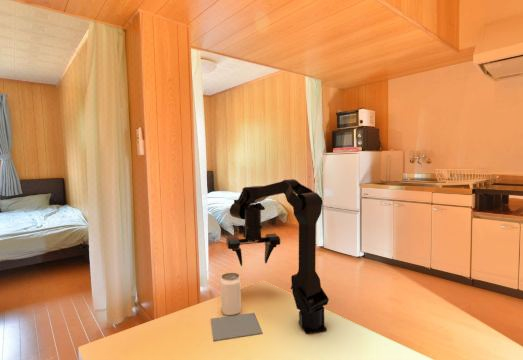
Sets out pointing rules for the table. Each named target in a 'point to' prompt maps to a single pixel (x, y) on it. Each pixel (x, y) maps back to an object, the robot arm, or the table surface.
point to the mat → (235, 326)
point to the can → (230, 294)
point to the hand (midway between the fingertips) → (253, 264)
